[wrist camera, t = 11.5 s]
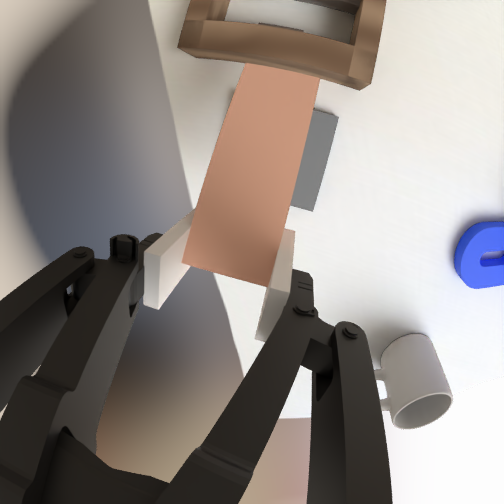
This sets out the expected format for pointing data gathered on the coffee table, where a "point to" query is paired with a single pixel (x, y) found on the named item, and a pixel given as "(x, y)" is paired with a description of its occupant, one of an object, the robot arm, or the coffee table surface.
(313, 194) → the rubber pad
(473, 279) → the bracket
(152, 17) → the coffee table surface
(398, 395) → the mug
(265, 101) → the terracotta block
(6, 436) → the robot arm
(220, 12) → the brown wooden frame
